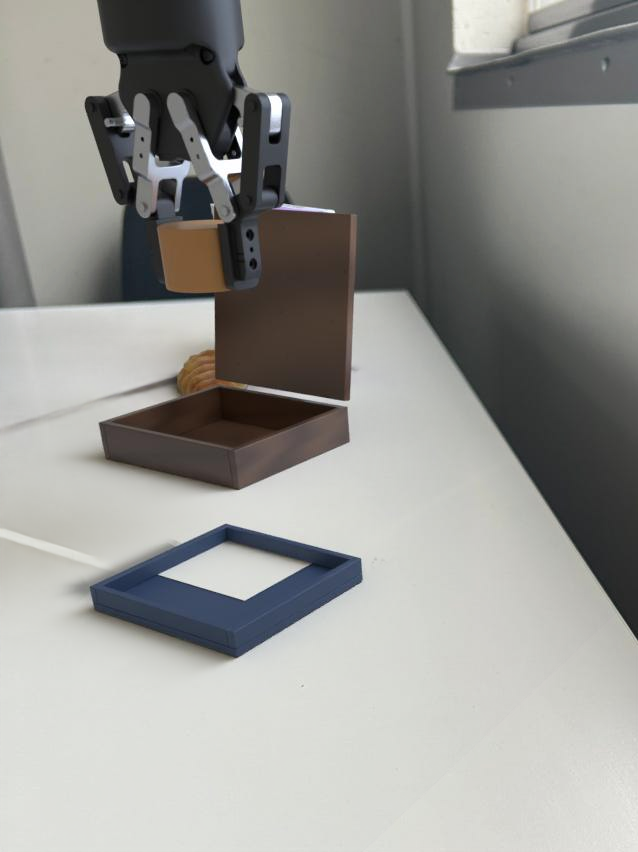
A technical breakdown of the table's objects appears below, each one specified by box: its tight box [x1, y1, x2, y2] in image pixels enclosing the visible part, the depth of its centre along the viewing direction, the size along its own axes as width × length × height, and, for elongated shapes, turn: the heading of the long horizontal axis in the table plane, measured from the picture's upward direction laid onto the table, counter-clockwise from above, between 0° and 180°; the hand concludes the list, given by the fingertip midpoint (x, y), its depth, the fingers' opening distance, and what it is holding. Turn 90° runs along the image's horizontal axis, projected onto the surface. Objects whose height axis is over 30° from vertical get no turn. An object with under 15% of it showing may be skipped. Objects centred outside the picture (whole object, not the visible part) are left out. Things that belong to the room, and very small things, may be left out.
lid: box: [213, 206, 358, 402], centre depth 85 cm, size 14×14×5 cm
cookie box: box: [98, 385, 351, 491], centre depth 82 cm, size 13×14×4 cm
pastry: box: [176, 349, 249, 396], centre depth 97 cm, size 9×7×4 cm
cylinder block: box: [157, 219, 230, 294], centre depth 61 cm, size 5×5×4 cm
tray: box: [89, 523, 364, 658], centre depth 60 cm, size 11×11×2 cm
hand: (208, 283), depth 62 cm, fingers closed on cylinder block, 5 cm apart
